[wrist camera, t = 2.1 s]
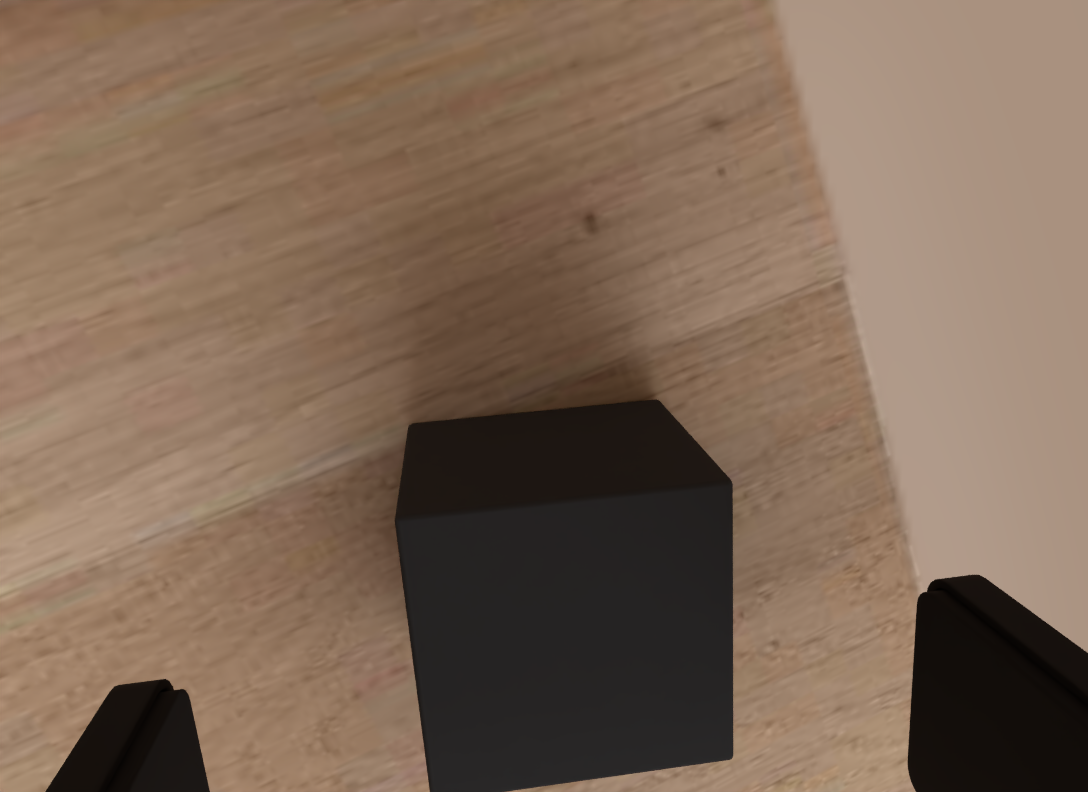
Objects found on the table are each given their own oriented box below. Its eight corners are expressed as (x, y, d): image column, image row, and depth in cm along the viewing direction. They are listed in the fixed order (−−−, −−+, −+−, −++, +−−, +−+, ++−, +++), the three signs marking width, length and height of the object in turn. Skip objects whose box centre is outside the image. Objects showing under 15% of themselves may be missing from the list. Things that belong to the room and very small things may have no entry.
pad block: (408, 422, 14) (394, 517, 10) (659, 398, 15) (734, 480, 11) (434, 646, 15) (431, 804, 12) (666, 618, 16) (735, 761, 12)
